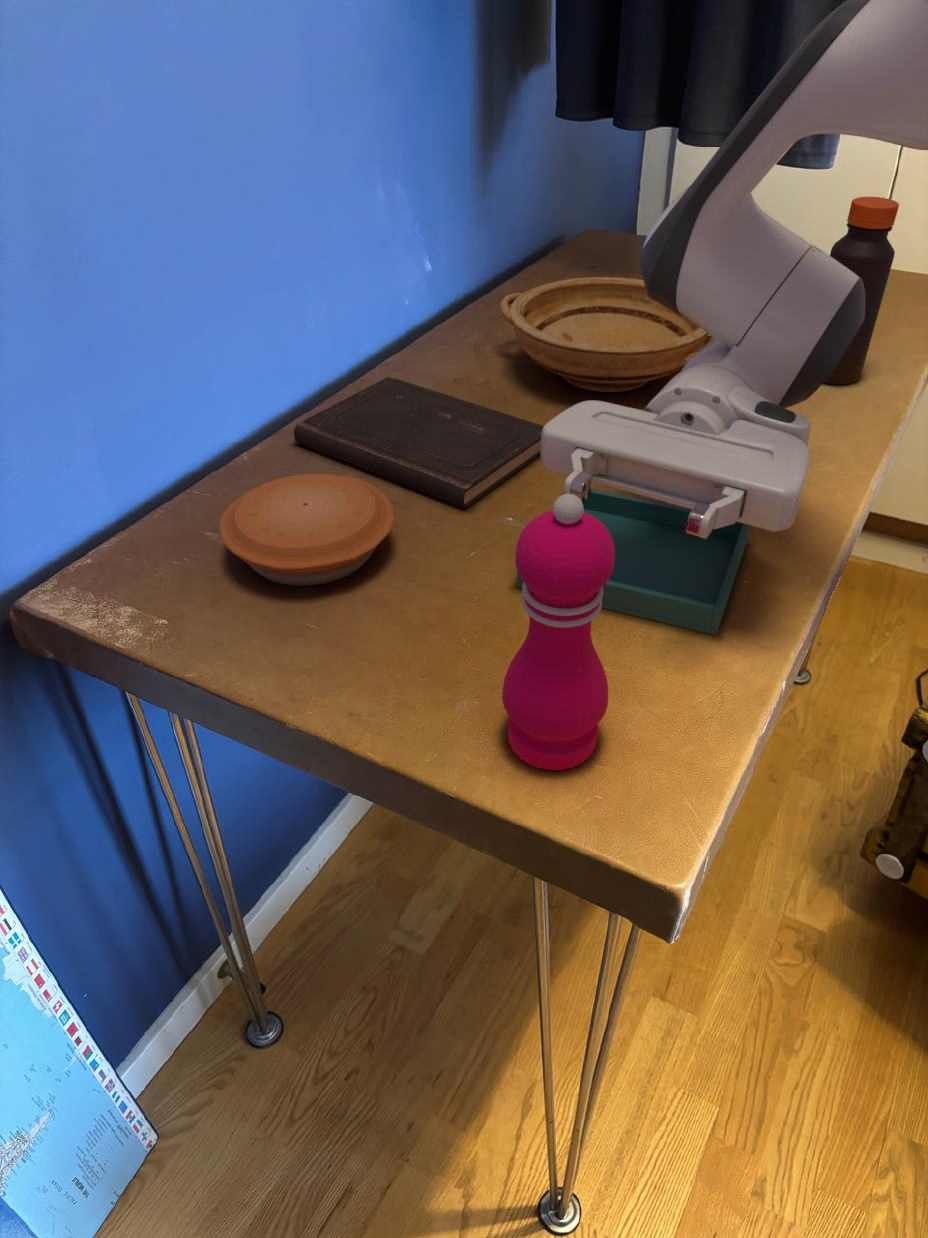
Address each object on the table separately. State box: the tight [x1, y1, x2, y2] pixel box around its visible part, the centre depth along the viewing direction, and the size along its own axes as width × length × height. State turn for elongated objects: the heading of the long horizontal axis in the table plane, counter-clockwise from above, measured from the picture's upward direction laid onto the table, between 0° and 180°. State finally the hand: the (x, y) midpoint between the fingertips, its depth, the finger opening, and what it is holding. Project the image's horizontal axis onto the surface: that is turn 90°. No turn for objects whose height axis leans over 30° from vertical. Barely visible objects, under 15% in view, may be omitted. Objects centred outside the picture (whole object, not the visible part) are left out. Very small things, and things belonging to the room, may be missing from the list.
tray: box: [516, 488, 751, 636], centre depth 81 cm, size 17×14×3 cm
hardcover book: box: [293, 376, 545, 509], centre depth 98 cm, size 16×23×2 cm
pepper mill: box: [501, 494, 615, 771], centre depth 59 cm, size 7×7×20 cm
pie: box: [218, 473, 396, 587], centre depth 82 cm, size 15×16×5 cm
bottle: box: [823, 196, 900, 386], centre depth 106 cm, size 7×7×20 cm
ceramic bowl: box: [499, 276, 715, 393], centre depth 111 cm, size 30×24×8 cm
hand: (632, 510), depth 65 cm, fingers open, 8 cm apart
